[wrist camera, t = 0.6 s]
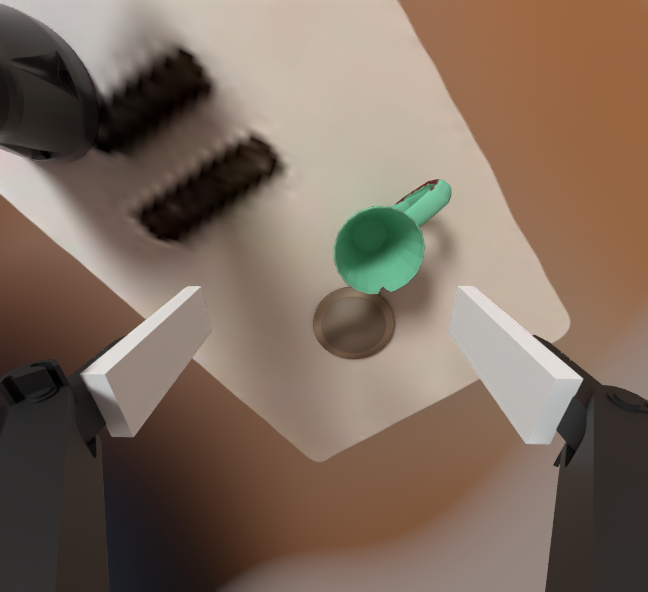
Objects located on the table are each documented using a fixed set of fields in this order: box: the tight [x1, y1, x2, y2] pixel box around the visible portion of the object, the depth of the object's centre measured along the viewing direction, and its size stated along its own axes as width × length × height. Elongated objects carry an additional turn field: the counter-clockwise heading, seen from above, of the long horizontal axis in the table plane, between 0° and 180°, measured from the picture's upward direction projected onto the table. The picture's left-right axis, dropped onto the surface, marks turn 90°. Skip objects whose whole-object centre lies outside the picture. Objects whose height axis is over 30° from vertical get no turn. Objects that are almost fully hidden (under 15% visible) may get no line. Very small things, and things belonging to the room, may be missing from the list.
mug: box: [334, 179, 451, 294], centre depth 33 cm, size 15×10×10 cm
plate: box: [313, 287, 394, 359], centre depth 44 cm, size 13×13×1 cm
